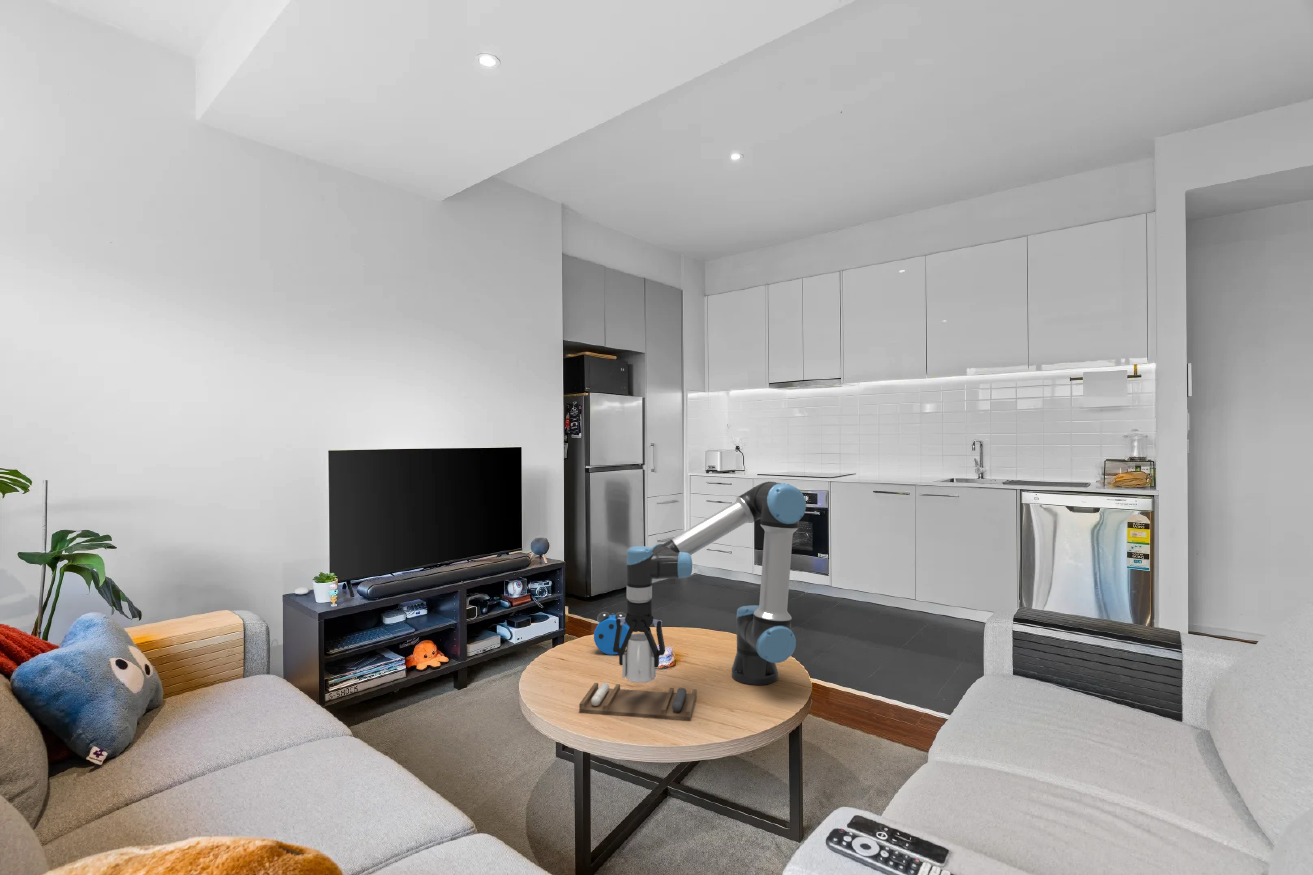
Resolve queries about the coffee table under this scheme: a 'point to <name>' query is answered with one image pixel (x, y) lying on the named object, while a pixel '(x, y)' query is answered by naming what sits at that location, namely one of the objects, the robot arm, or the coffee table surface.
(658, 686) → the coffee table surface
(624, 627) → the alarm clock
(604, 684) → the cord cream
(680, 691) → the dark grey rounded rod
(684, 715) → the tray
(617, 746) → the coffee table surface
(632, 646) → the mug
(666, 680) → the coffee table surface
